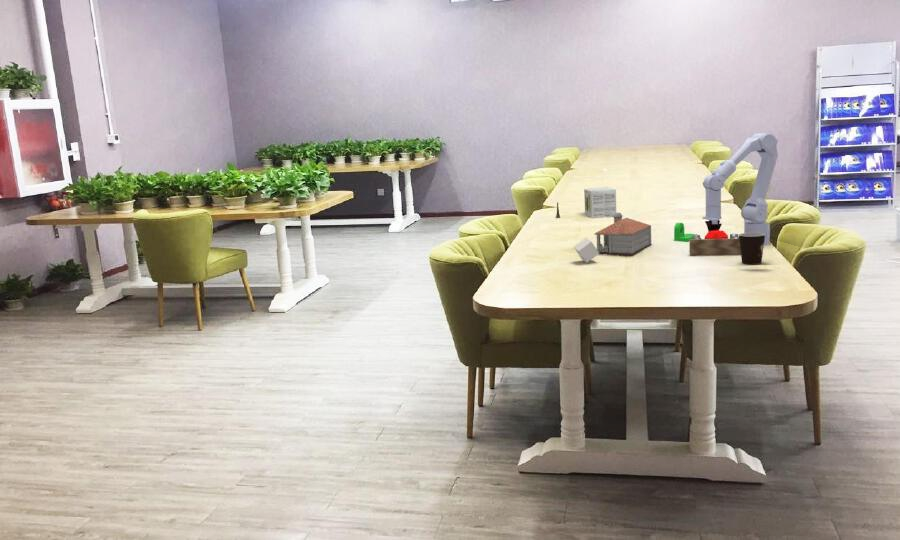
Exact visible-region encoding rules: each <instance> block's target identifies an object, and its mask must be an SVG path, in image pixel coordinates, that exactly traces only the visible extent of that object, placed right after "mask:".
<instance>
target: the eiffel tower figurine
mask: <svg viewBox="0 0 900 540" xmlns="http://www.w3.org/2000/svg"><path fill="white" fill-rule="evenodd" d="M558 217H559V219H560V218H561V216H560V210H559V202H558V200H557V202H556V215H555V218H556V219H558Z"/></svg>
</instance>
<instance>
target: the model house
mask: <svg viewBox="0 0 900 540" xmlns="http://www.w3.org/2000/svg"><path fill="white" fill-rule="evenodd" d="M612 218H613V223H612V224H609V225H607V226H606V227H604V228H602V229H600V230H599V231H596V232H595V233H593V235H596V249H597V251H598V252H599V254H598V255H603V254H607V255H606V256H617V255H619V257H620V256H621V257H633V256H635V255H638V254H639V253H641V252H642V251H644V250H645V249H647V248H649V247H651V246H652V245H653V244H652V225H651V224H648V223H645V222H642V221H639V220H635V219H633V218H629V217H624V218H623V214H622V213H621V212H616V213H615V214H614V216H613V217H612ZM601 236H603V244H602V243H601Z"/></svg>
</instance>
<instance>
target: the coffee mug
mask: <svg viewBox="0 0 900 540" xmlns="http://www.w3.org/2000/svg"><path fill="white" fill-rule="evenodd" d="M738 237H739V241H740V250H741V255H740V257H741V263H742V264H744V265H761V264H762V261H763V255H764V254H763V253H764V249H765V248H764V246H765V245H764V240H765V234H763V233H744V232H743V233H738Z"/></svg>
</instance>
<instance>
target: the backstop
mask: <svg viewBox="0 0 900 540" xmlns="http://www.w3.org/2000/svg"><path fill="white" fill-rule="evenodd" d="M689 256H690V257H696V256H697V257H698V256H700V257H701V256H705V257H706V256H741V250H740V241H739V238H730V237H728V239H705V238H701V239H690V241H689Z"/></svg>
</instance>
